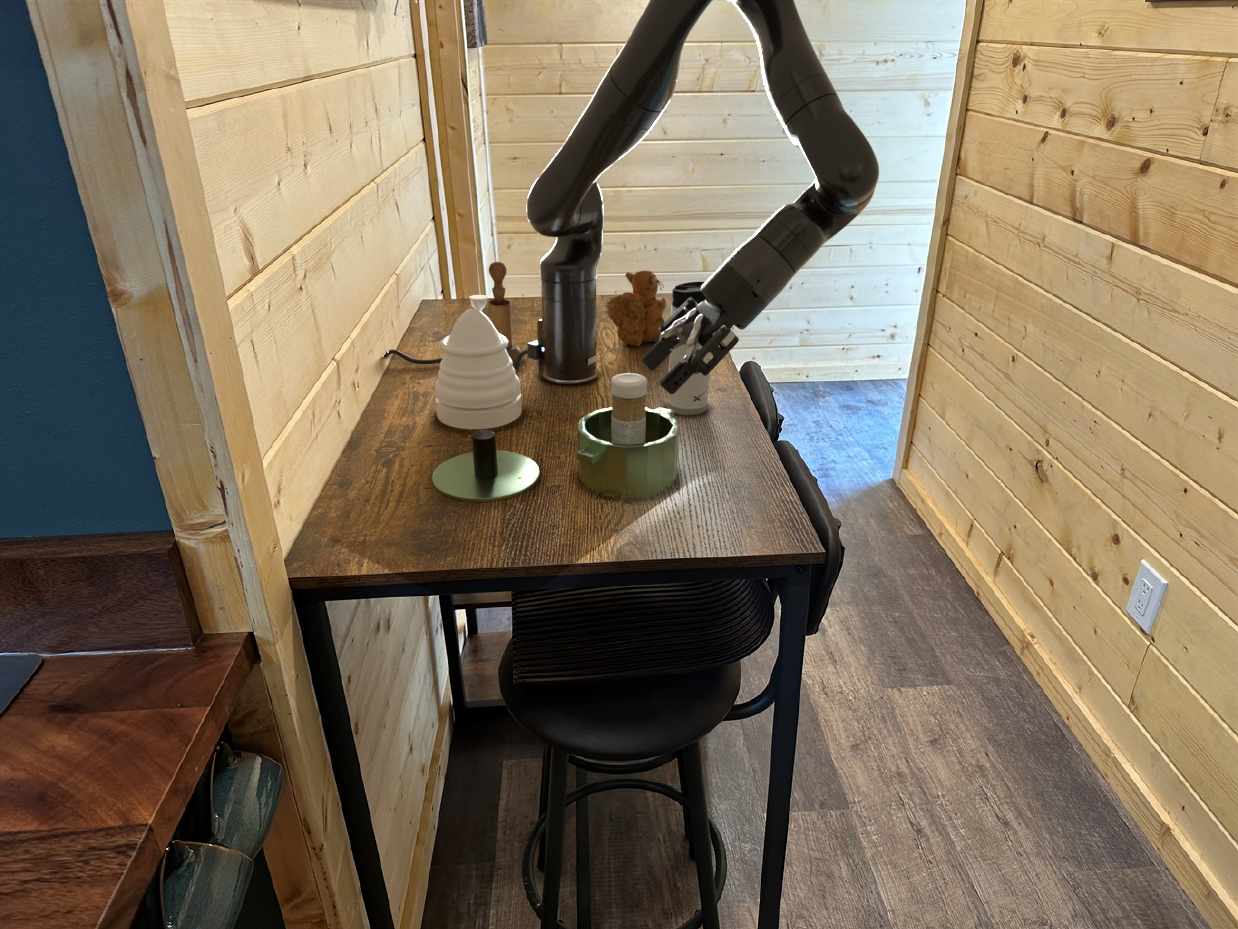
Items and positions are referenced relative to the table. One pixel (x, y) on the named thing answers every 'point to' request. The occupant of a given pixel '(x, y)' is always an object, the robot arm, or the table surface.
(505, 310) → the mortar and pestle
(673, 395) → the travel mug
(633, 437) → the sprinkles bottle
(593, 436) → the pot
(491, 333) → the honey pot
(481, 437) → the lid
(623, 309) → the stuffed squirrel
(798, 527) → the table surface
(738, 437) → the table surface
